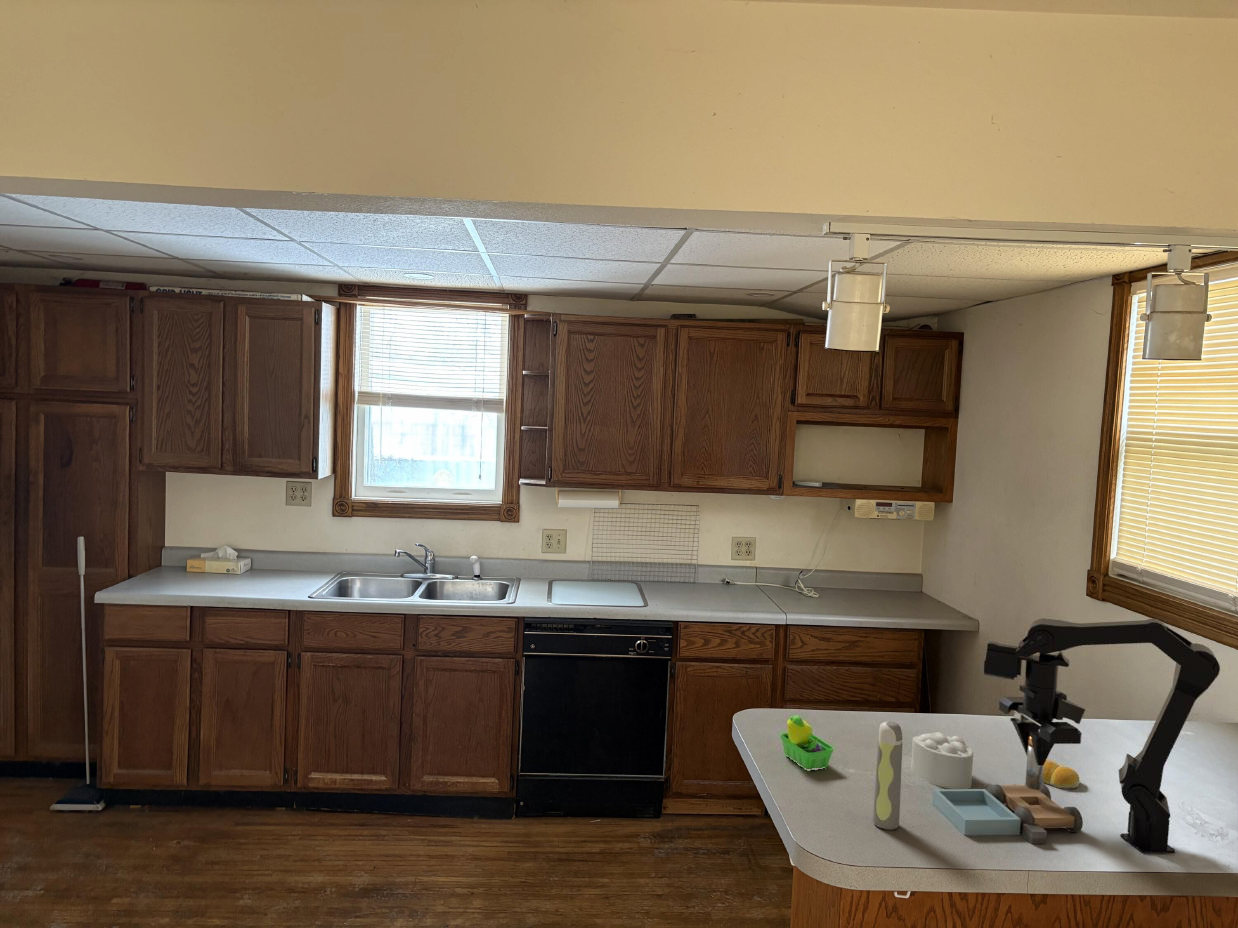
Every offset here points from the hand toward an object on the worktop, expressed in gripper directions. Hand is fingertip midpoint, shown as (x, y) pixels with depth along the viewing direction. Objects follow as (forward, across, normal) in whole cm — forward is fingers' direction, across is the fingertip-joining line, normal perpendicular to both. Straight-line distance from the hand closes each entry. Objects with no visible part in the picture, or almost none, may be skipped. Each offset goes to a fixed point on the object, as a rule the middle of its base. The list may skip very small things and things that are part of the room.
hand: (1035, 761), depth 167 cm
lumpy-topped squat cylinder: (+12, +19, +9) cm, 24 cm away
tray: (+11, 0, +12) cm, 16 cm away
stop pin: (+5, 0, 0) cm, 5 cm away
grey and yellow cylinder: (+12, -2, +31) cm, 33 cm away
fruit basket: (+12, +27, +38) cm, 48 cm away
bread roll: (+12, +17, -16) cm, 26 cm away
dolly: (+11, -2, 0) cm, 12 cm away
